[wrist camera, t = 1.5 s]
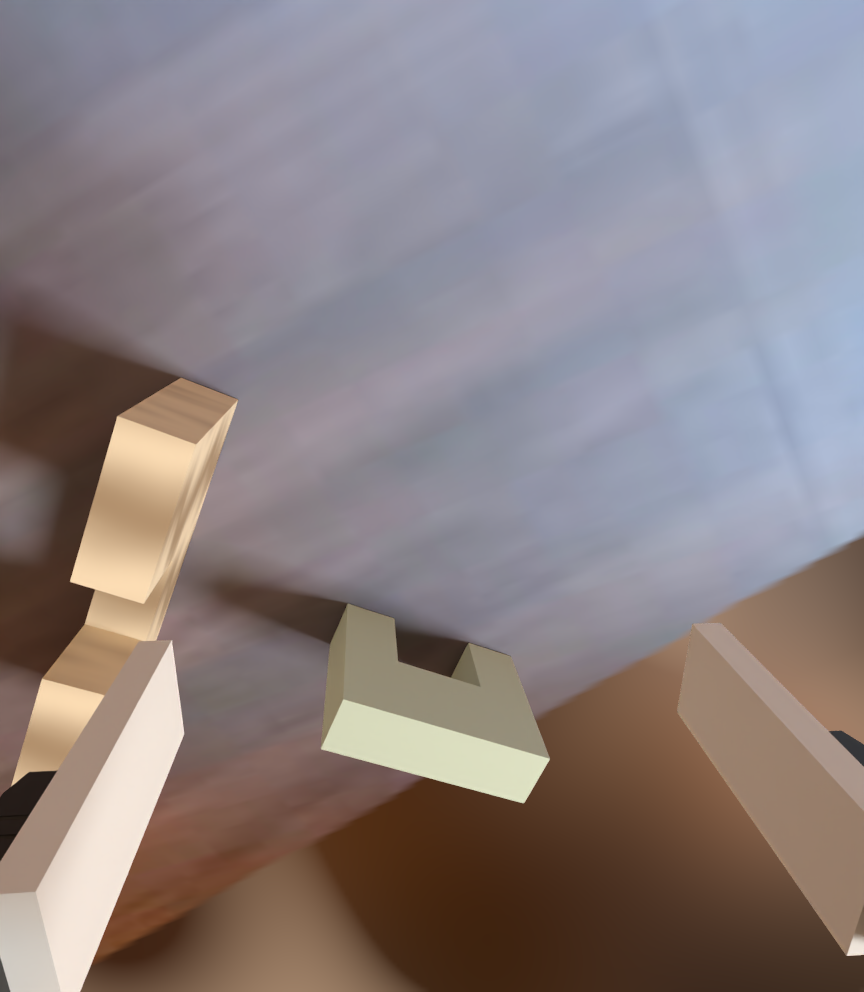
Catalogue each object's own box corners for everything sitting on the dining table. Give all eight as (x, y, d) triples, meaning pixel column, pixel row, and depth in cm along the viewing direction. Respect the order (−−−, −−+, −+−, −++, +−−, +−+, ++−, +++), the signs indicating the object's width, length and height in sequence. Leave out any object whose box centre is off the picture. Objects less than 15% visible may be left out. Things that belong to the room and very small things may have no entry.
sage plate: (329, 644, 39) (320, 748, 30) (347, 603, 38) (343, 699, 30) (490, 693, 41) (523, 803, 33) (510, 656, 40) (549, 758, 32)
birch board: (135, 701, 39) (72, 822, 30) (84, 687, 38) (5, 807, 30) (238, 399, 33) (195, 444, 25) (181, 377, 33) (117, 416, 24)
